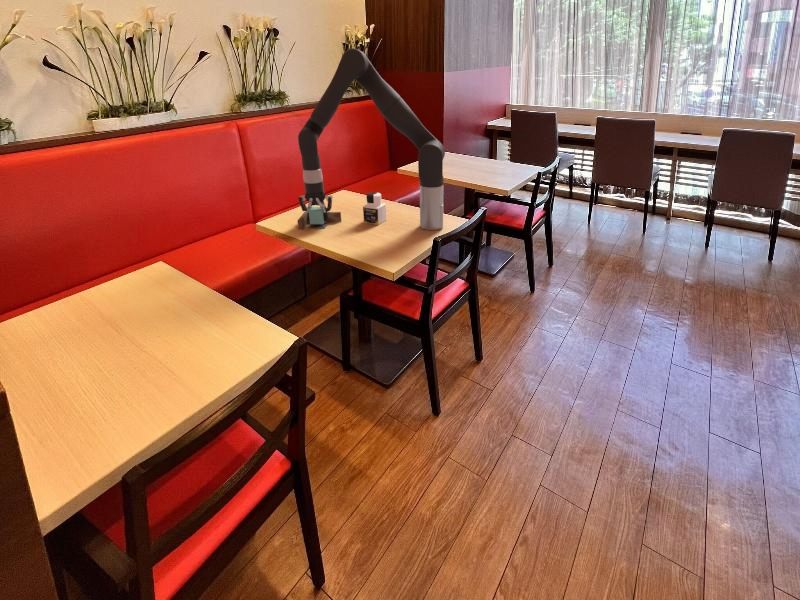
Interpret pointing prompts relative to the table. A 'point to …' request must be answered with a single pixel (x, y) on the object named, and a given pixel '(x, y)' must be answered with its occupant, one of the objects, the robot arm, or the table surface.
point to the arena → (331, 218)
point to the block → (316, 215)
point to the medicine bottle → (374, 209)
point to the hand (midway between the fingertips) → (318, 220)
